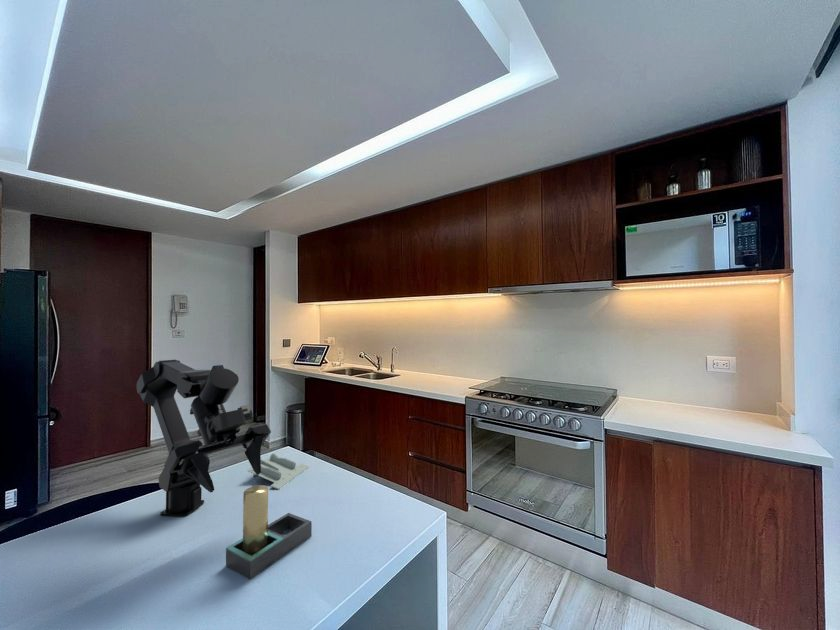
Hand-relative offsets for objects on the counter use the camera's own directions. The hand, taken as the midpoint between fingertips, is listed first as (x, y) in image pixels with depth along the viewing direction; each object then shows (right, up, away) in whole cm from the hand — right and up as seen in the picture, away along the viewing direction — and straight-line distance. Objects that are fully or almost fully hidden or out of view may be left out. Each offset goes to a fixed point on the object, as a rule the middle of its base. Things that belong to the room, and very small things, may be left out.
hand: (237, 482), depth 68 cm
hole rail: (+7, -13, -1) cm, 15 cm away
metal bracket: (-6, -15, +32) cm, 36 cm away
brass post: (+6, -13, -4) cm, 15 cm away
